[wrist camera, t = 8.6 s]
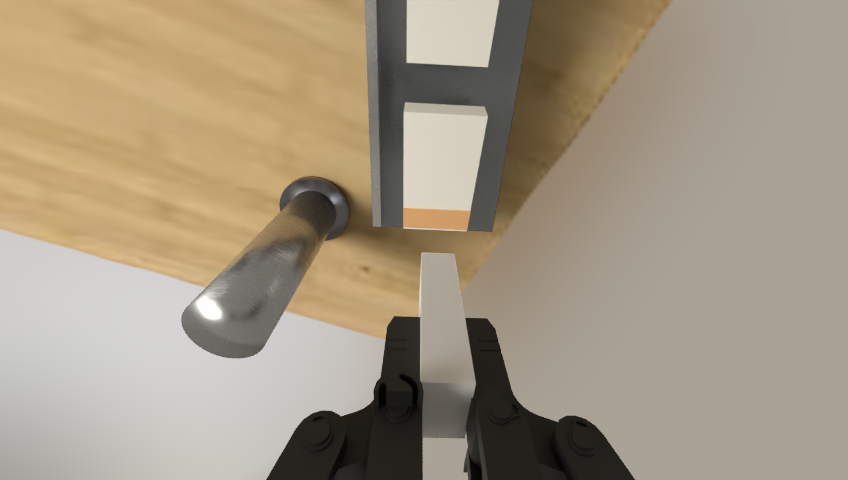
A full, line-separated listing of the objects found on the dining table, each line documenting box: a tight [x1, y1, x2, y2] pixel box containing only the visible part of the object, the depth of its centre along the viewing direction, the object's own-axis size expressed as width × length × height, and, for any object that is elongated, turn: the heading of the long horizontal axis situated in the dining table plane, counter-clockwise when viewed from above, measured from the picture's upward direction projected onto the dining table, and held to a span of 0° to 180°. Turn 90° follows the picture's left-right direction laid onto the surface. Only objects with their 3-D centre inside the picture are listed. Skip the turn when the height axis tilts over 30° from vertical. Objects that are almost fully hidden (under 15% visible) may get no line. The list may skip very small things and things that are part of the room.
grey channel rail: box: [365, 0, 533, 232], centre depth 21 cm, size 20×9×6 cm, turn 177°
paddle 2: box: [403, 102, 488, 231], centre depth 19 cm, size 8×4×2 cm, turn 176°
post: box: [182, 176, 350, 358], centre depth 22 cm, size 6×6×15 cm
